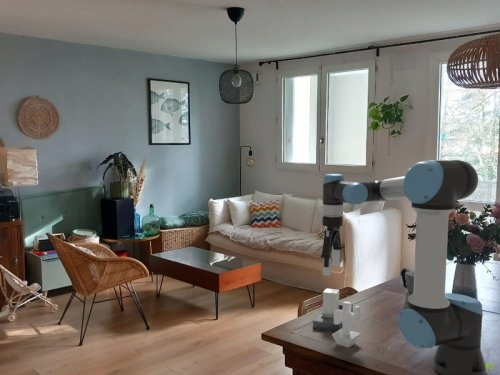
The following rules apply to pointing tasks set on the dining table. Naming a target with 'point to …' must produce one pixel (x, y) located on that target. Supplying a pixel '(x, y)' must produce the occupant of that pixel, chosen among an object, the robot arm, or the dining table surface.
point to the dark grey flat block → (328, 321)
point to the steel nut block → (330, 303)
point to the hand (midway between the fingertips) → (331, 270)
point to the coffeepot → (408, 283)
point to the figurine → (346, 325)
